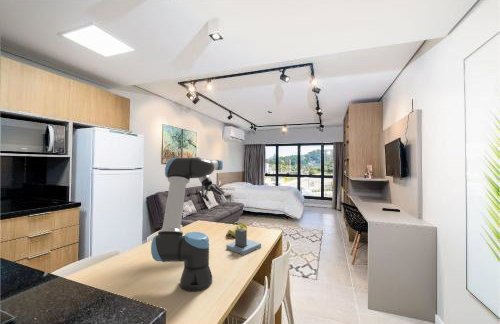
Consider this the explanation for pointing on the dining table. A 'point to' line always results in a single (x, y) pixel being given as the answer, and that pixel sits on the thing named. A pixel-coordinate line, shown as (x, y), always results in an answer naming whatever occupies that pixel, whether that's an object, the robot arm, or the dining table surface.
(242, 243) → the servo block
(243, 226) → the plastic component
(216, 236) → the dining table surface
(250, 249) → the plate
